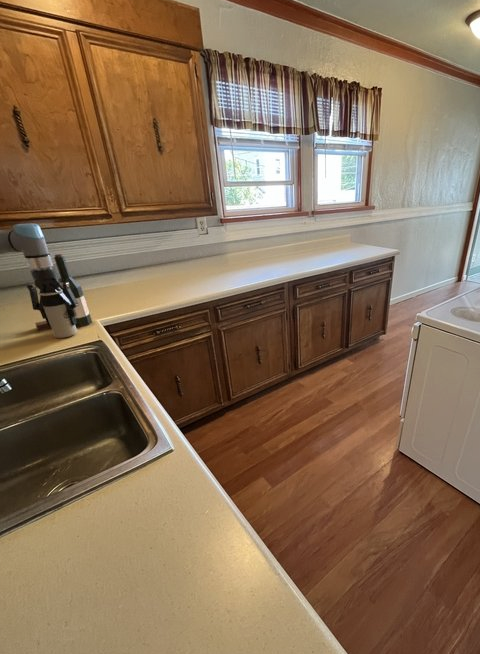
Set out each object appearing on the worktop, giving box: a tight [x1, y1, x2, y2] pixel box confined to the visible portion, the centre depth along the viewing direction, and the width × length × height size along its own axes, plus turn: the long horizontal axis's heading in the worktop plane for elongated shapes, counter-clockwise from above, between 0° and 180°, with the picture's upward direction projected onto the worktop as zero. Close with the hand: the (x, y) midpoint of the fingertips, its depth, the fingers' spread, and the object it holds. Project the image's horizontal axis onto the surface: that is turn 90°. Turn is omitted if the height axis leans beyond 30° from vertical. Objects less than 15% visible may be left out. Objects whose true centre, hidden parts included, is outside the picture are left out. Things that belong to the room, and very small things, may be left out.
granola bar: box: [35, 320, 52, 332], centre depth 142 cm, size 12×4×2 cm, turn 130°
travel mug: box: [38, 290, 78, 339], centre depth 129 cm, size 8×8×18 cm
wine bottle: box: [53, 253, 93, 328], centre depth 137 cm, size 8×8×30 cm
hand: (62, 324), depth 131 cm, fingers closed on travel mug, 8 cm apart
